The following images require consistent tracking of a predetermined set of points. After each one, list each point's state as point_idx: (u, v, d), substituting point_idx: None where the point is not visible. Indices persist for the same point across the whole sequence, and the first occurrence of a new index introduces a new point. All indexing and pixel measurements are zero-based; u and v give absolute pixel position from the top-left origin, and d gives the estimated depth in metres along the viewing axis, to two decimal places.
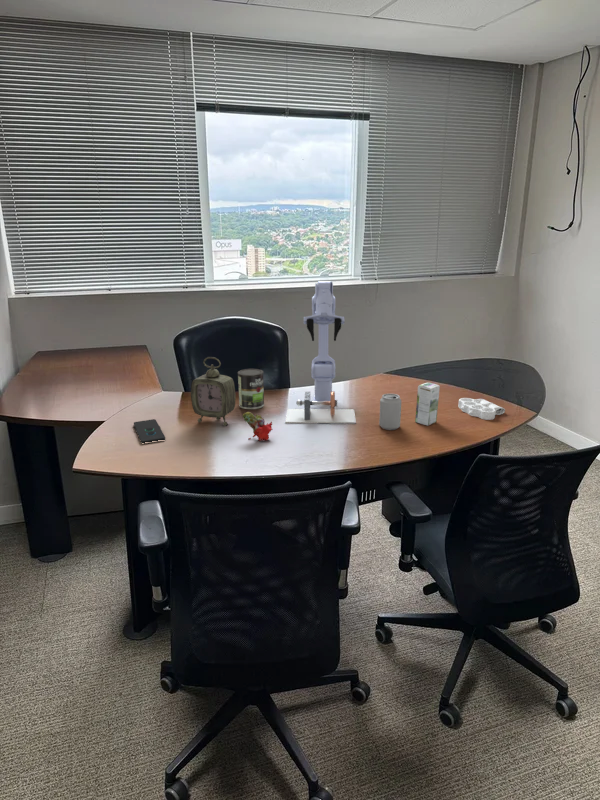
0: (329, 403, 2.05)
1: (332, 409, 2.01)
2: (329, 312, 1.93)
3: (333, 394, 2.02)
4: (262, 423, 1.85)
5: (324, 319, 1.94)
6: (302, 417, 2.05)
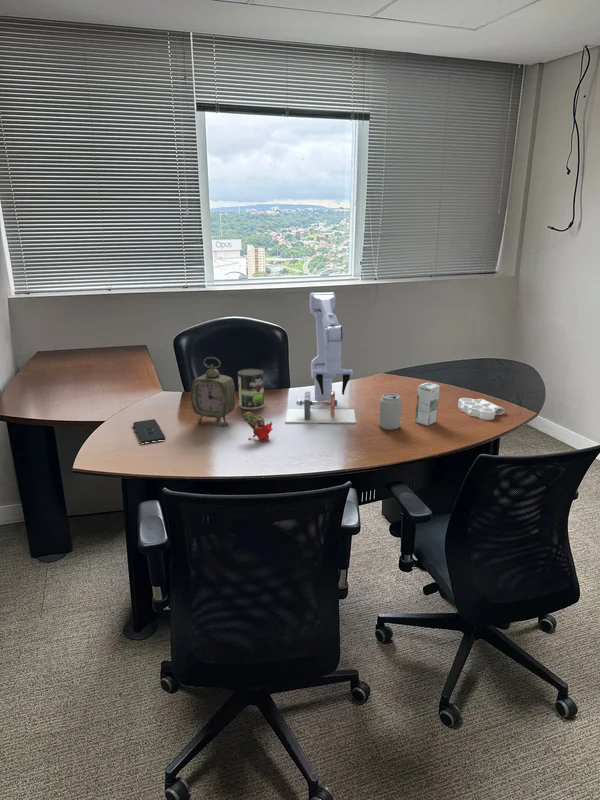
0: (329, 403, 2.05)
1: (332, 409, 2.01)
2: (338, 369, 1.99)
3: (333, 394, 2.02)
4: (262, 423, 1.85)
5: None
6: (302, 417, 2.05)
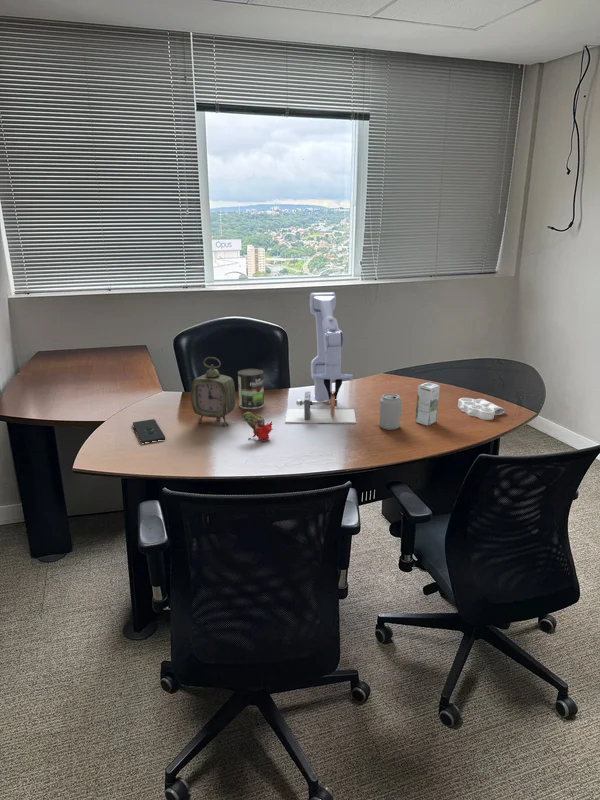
0: (329, 403, 2.05)
1: (332, 409, 2.01)
2: (338, 374, 1.99)
3: (333, 394, 2.02)
4: (262, 423, 1.85)
5: None
6: (302, 417, 2.05)
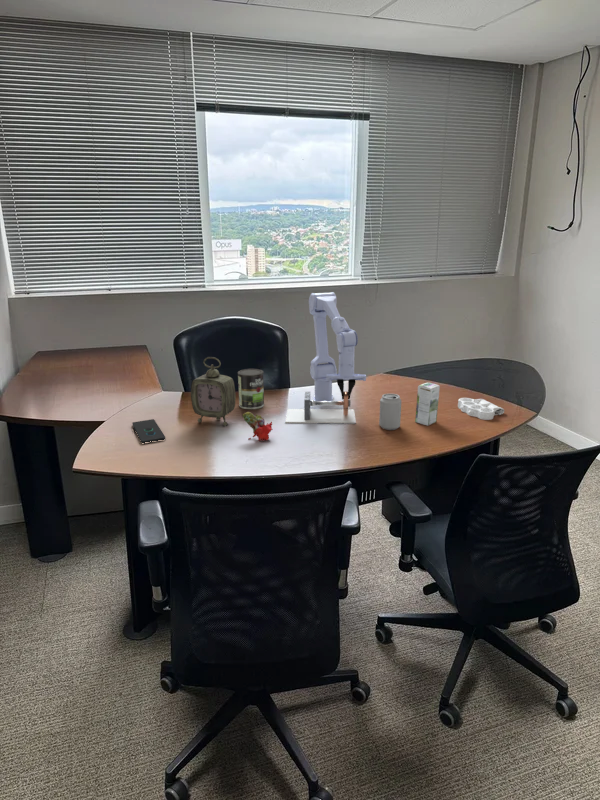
0: (342, 403, 2.04)
1: (345, 409, 2.01)
2: (351, 374, 1.99)
3: (346, 394, 2.02)
4: (262, 423, 1.85)
5: None
6: (302, 417, 2.05)
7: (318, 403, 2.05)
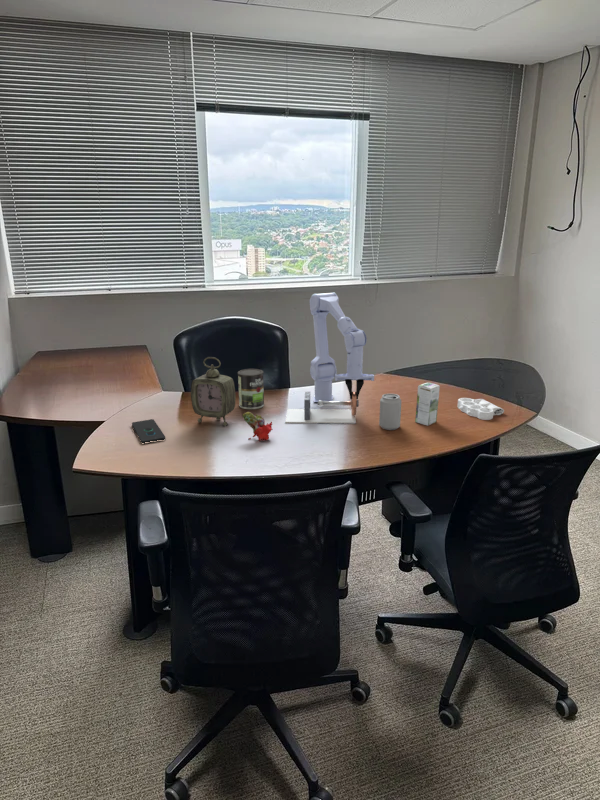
0: (350, 403, 2.04)
1: (354, 409, 2.01)
2: (360, 374, 1.99)
3: (355, 394, 2.02)
4: (262, 423, 1.85)
5: None
6: (302, 417, 2.05)
7: (326, 403, 2.05)
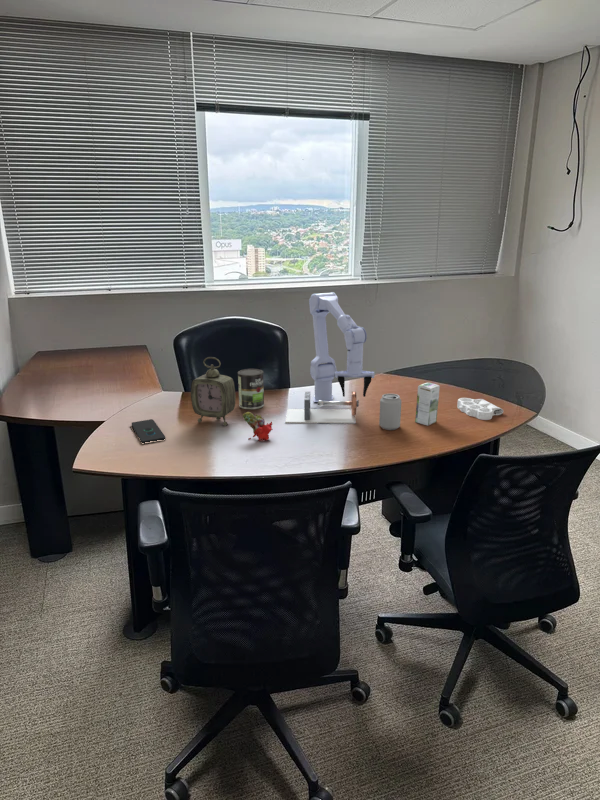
0: (350, 403, 2.04)
1: (354, 409, 2.01)
2: (360, 371, 1.99)
3: (355, 394, 2.02)
4: (262, 423, 1.85)
5: None
6: (302, 417, 2.05)
7: (326, 403, 2.05)
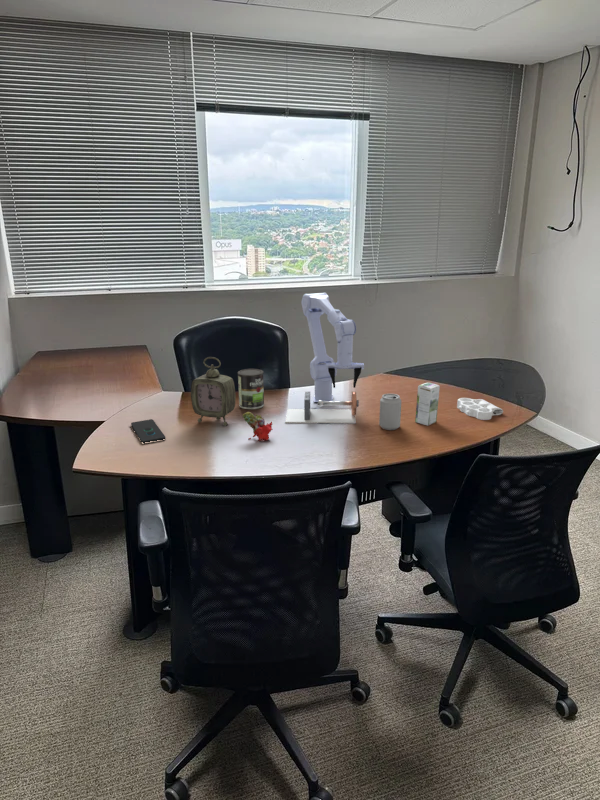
0: (350, 403, 2.04)
1: (354, 409, 2.01)
2: (350, 362, 2.03)
3: (355, 394, 2.02)
4: (262, 423, 1.85)
5: None
6: (302, 417, 2.05)
7: (326, 403, 2.05)
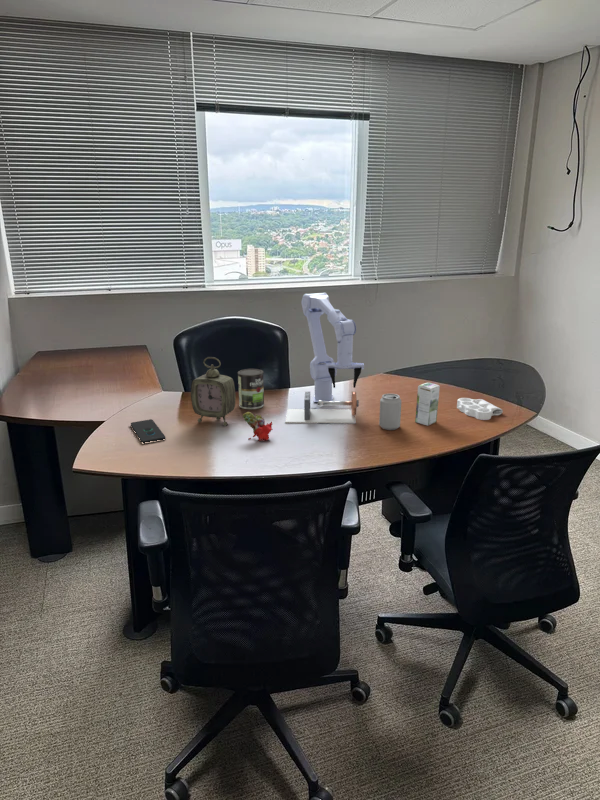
0: (350, 403, 2.04)
1: (354, 409, 2.01)
2: (350, 362, 2.03)
3: (355, 394, 2.02)
4: (262, 423, 1.85)
5: None
6: (302, 417, 2.05)
7: (326, 403, 2.05)
